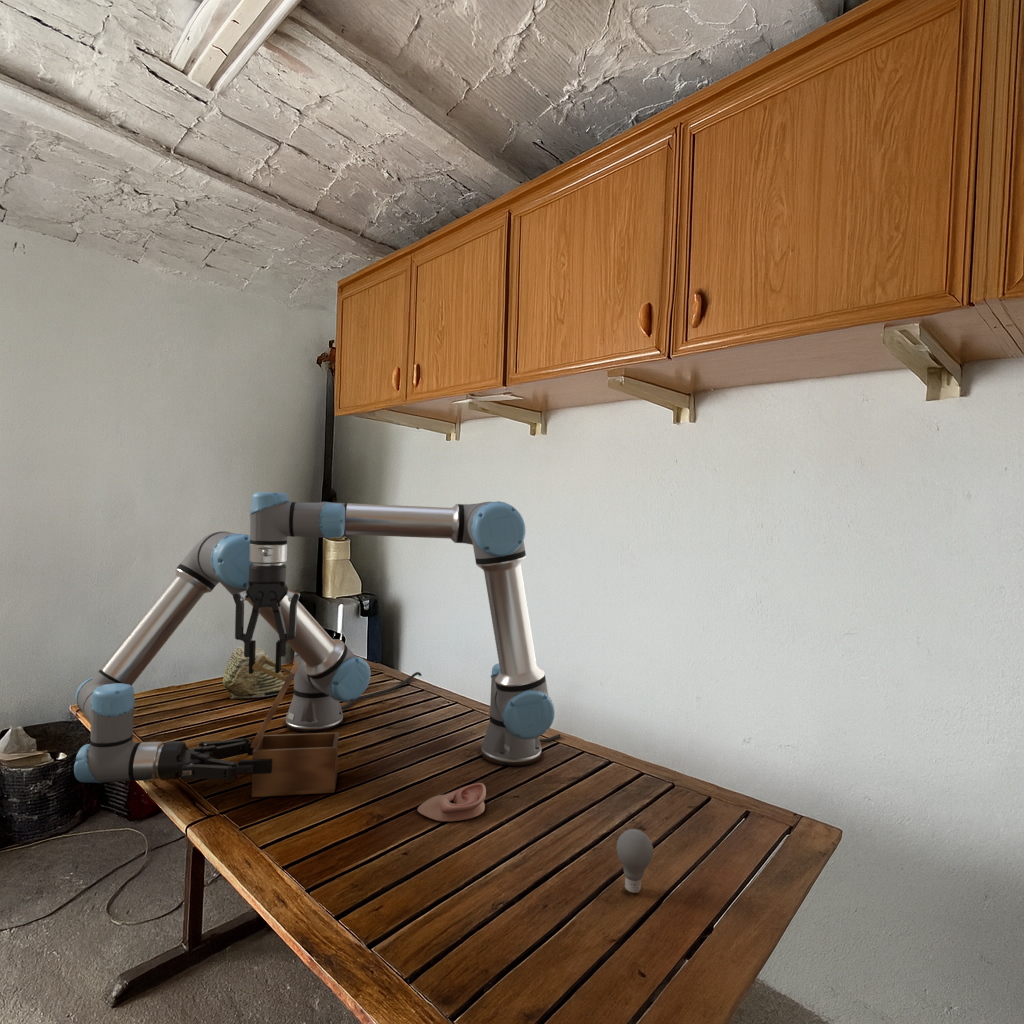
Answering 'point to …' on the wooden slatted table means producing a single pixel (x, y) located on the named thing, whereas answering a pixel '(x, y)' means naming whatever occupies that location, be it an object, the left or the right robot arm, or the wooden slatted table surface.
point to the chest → (297, 764)
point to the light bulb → (634, 857)
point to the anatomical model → (456, 804)
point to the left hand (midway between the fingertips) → (275, 756)
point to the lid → (292, 672)
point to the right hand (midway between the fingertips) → (265, 671)
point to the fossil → (249, 677)
